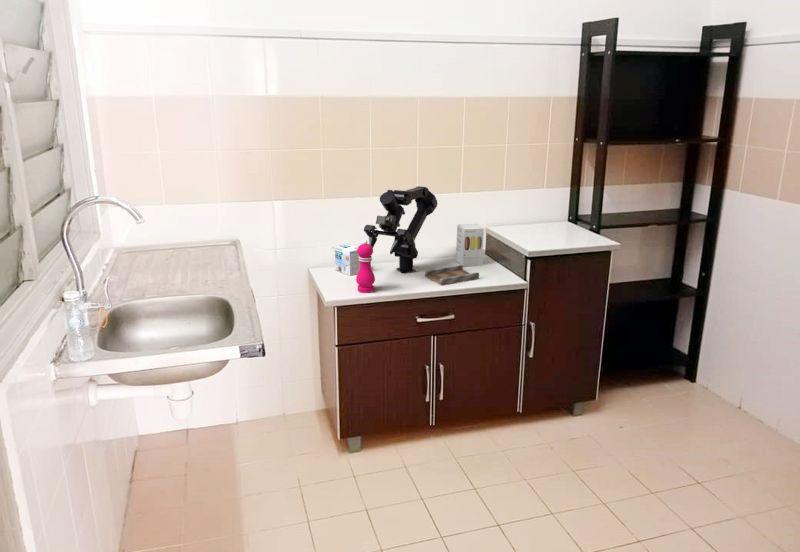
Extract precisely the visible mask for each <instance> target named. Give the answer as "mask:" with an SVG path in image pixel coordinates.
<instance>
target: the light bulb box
mask: <svg viewBox="0 0 800 552" xmlns="http://www.w3.org/2000/svg"><path fill="white" fill-rule="evenodd" d="M358 247H359V246H355V245H352V244H350V243H343V244H339V245H335V246H334V254H335V255H334V256H335V257H334V259H335V262H334V264H335V265H334V268H335V271H337V272H340V273H341V274H343V275H347V276H349V277H350V276H355V275H356V276H357V274H358V272H359V269H360V261H359V255H358V253H357V249H358Z"/></svg>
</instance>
